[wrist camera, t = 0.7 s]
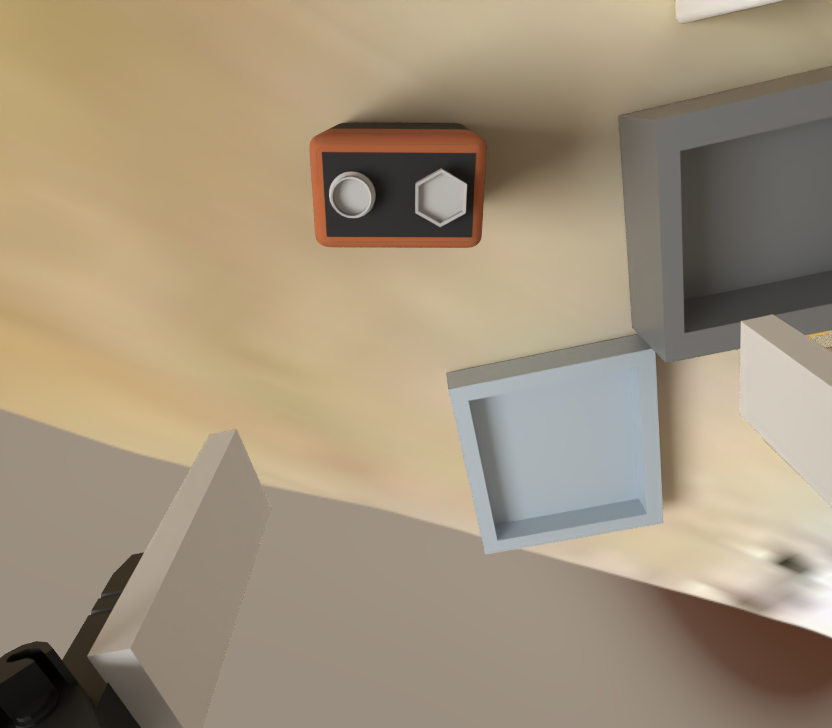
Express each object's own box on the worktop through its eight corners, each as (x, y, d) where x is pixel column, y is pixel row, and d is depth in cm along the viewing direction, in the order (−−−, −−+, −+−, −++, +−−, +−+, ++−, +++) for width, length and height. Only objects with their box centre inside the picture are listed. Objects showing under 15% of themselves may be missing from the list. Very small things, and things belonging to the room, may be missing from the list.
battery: (462, 208, 32) (485, 256, 23) (338, 208, 32) (311, 255, 23) (466, 122, 30) (492, 137, 21) (334, 121, 30) (302, 135, 21)
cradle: (618, 115, 30) (656, 120, 25) (923, 44, 29) (1020, 36, 24) (632, 335, 35) (666, 371, 31) (891, 282, 34) (965, 312, 29)
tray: (446, 373, 36) (448, 389, 34) (640, 333, 35) (655, 348, 33) (481, 532, 42) (485, 554, 40) (650, 501, 41) (663, 523, 39)
